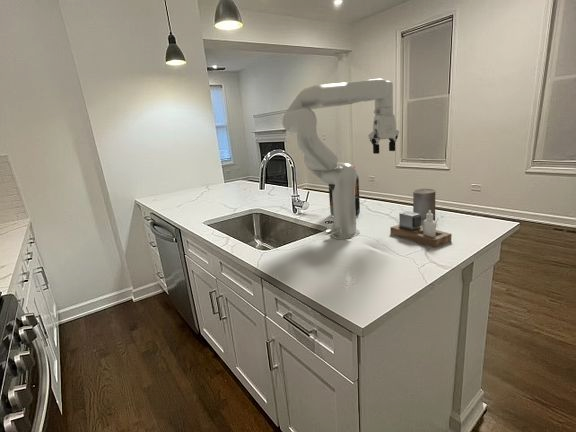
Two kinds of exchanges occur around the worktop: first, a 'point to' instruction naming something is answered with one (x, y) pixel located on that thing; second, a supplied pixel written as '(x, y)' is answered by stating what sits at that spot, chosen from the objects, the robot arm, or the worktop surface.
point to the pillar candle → (424, 202)
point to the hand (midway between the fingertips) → (384, 152)
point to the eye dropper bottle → (429, 225)
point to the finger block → (409, 221)
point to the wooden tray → (422, 236)
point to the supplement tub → (357, 201)
